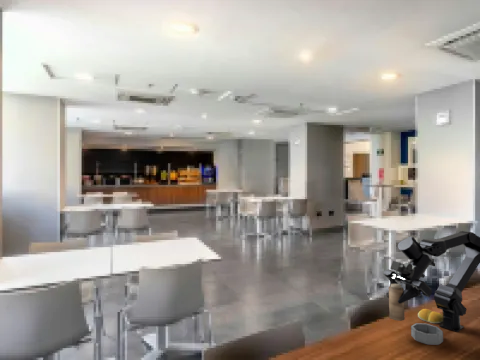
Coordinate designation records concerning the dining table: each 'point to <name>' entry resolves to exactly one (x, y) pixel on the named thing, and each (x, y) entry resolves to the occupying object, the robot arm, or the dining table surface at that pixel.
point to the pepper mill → (396, 302)
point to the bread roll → (430, 316)
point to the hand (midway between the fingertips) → (393, 300)
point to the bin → (427, 334)
